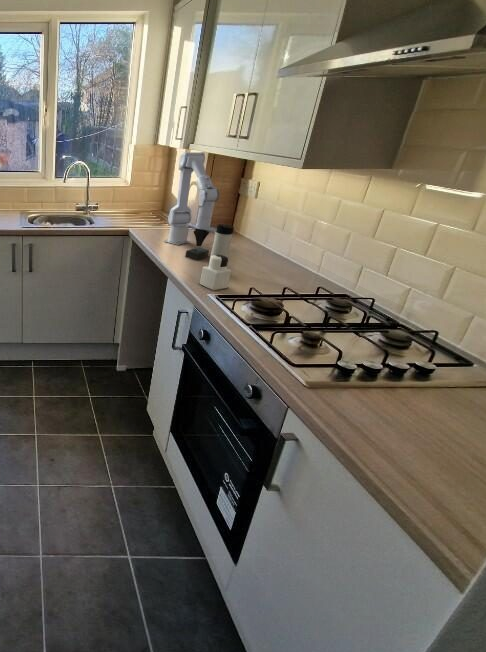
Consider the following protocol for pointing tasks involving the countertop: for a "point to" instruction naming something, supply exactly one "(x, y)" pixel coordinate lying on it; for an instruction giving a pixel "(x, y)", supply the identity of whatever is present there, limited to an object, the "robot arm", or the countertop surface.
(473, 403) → the countertop surface
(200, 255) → the black notched block
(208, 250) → the grey t-shaped block
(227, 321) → the countertop surface
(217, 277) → the white block with post
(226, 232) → the travel mug
